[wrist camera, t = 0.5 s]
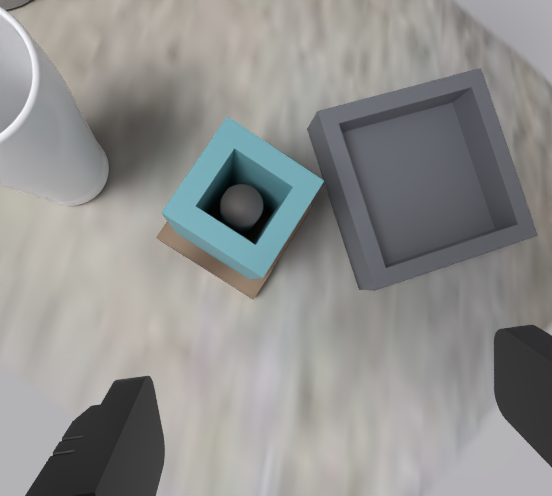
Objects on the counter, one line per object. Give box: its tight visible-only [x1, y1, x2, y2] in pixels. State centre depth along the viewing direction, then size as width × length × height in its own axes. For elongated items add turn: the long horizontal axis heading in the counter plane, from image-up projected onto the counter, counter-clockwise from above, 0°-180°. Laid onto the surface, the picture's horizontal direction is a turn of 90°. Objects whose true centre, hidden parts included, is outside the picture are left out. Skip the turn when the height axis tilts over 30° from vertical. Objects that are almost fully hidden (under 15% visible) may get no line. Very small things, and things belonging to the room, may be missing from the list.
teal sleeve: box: [162, 117, 324, 280], centre depth 27 cm, size 6×8×9 cm
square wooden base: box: [156, 184, 312, 299], centre depth 29 cm, size 8×8×8 cm
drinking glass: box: [0, 7, 109, 206], centre depth 24 cm, size 7×7×15 cm
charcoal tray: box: [307, 68, 537, 290], centre depth 33 cm, size 13×13×4 cm
